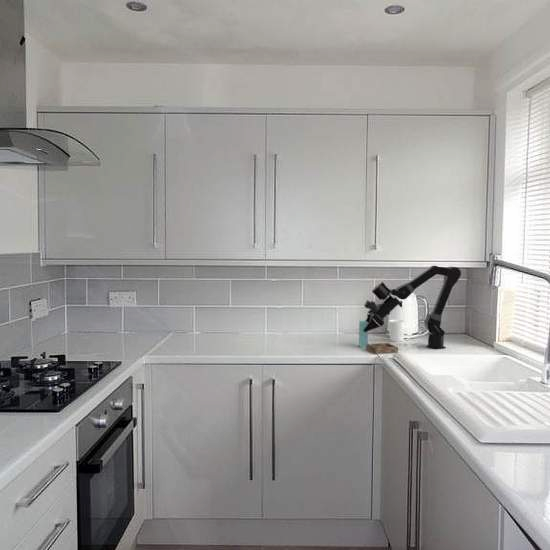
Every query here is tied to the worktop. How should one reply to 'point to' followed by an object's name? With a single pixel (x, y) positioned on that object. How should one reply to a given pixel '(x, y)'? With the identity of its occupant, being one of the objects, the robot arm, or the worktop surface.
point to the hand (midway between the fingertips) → (362, 329)
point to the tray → (381, 348)
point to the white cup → (396, 330)
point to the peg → (363, 334)
